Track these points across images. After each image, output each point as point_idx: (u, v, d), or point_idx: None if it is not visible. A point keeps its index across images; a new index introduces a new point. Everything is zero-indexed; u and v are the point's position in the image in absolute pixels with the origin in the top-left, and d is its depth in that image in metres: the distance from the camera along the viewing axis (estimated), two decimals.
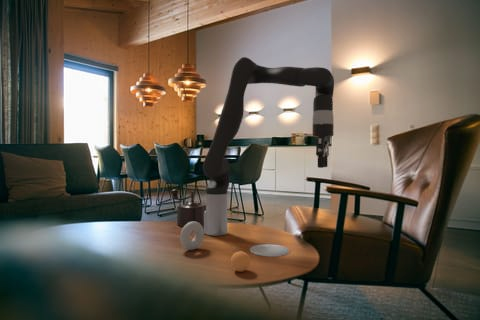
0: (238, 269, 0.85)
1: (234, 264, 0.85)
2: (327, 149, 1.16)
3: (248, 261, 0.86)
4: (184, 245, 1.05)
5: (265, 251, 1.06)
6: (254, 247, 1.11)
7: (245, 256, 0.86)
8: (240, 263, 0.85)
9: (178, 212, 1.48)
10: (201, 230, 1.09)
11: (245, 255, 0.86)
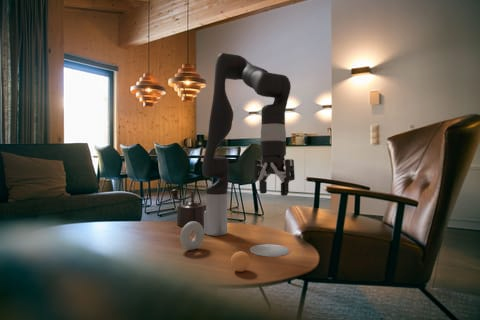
0: (238, 269, 0.85)
1: (234, 264, 0.85)
2: None
3: (248, 261, 0.86)
4: (184, 245, 1.05)
5: (265, 251, 1.06)
6: (254, 247, 1.11)
7: (245, 256, 0.86)
8: (240, 263, 0.85)
9: (178, 212, 1.48)
10: (201, 230, 1.09)
11: (245, 255, 0.86)
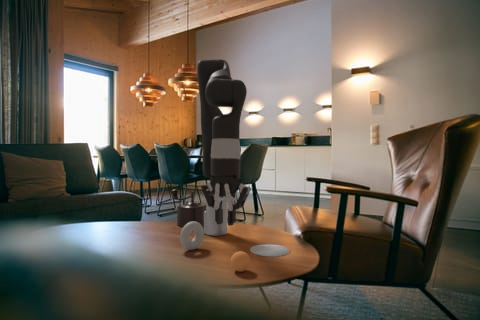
0: (238, 269, 0.85)
1: (234, 264, 0.85)
2: None
3: (248, 261, 0.86)
4: (184, 245, 1.05)
5: (265, 251, 1.06)
6: (254, 247, 1.11)
7: (245, 256, 0.86)
8: (240, 263, 0.85)
9: (178, 212, 1.48)
10: (201, 230, 1.09)
11: (245, 255, 0.86)
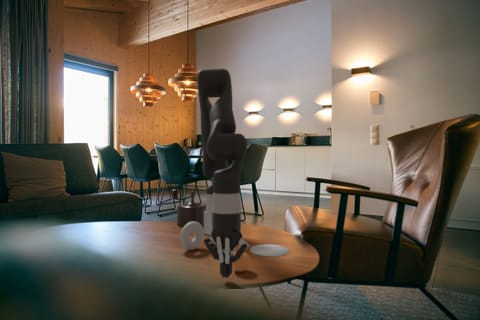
0: (238, 269, 0.85)
1: (234, 264, 0.85)
2: None
3: (248, 261, 0.86)
4: (184, 245, 1.05)
5: (265, 251, 1.06)
6: (254, 247, 1.11)
7: (245, 256, 0.86)
8: (240, 263, 0.85)
9: (178, 212, 1.48)
10: (201, 230, 1.09)
11: (245, 255, 0.86)
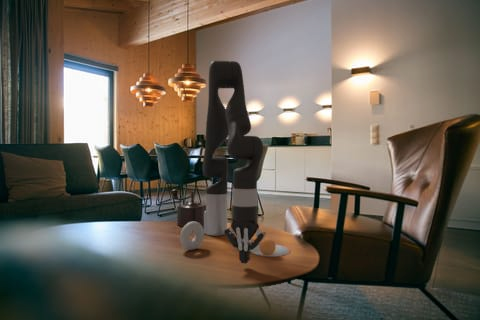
0: (266, 253, 1.01)
1: (262, 249, 1.01)
2: None
3: (274, 246, 1.01)
4: (184, 245, 1.05)
5: None
6: None
7: (271, 242, 1.01)
8: (268, 248, 1.00)
9: (178, 212, 1.48)
10: (201, 230, 1.09)
11: (271, 241, 1.02)
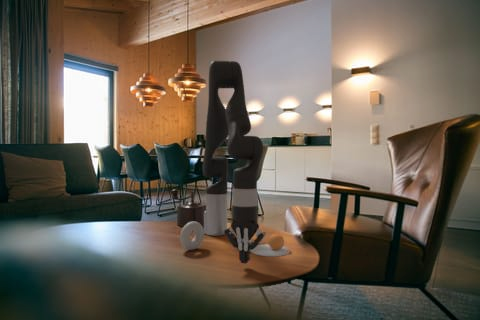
0: (278, 234, 1.09)
1: None
2: None
3: (283, 243, 1.08)
4: (184, 245, 1.05)
5: (265, 251, 1.06)
6: None
7: None
8: None
9: (178, 212, 1.48)
10: (201, 230, 1.09)
11: None
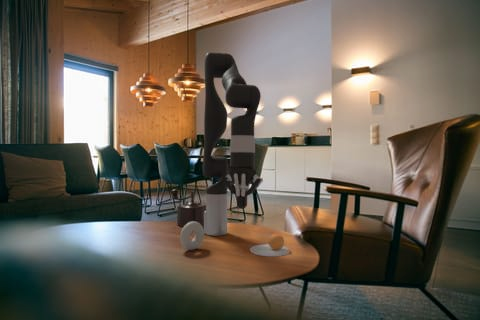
0: None
1: None
2: None
3: (283, 243, 1.08)
4: (184, 245, 1.05)
5: (265, 251, 1.06)
6: (254, 247, 1.11)
7: None
8: None
9: (178, 212, 1.48)
10: (201, 230, 1.09)
11: None
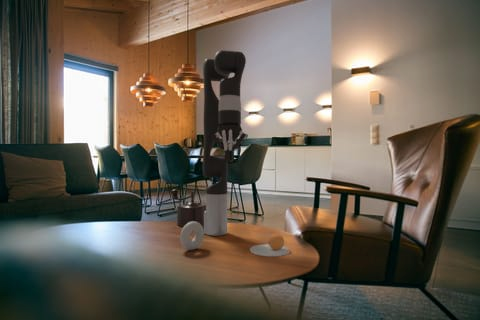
0: None
1: None
2: None
3: (283, 243, 1.08)
4: (184, 245, 1.05)
5: (265, 251, 1.06)
6: (254, 247, 1.11)
7: None
8: None
9: (178, 212, 1.48)
10: (201, 230, 1.09)
11: None
